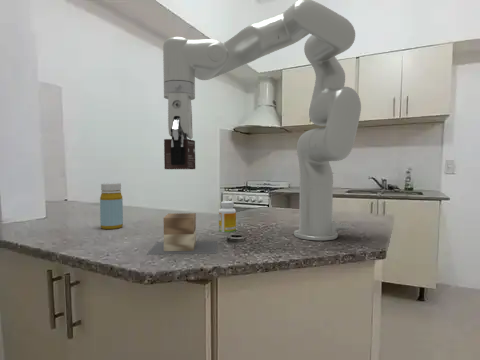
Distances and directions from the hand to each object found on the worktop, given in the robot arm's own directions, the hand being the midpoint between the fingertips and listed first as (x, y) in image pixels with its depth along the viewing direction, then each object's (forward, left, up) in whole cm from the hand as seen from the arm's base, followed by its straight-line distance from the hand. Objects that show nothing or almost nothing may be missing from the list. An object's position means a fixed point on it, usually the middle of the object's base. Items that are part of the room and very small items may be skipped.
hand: (180, 164), depth 79 cm
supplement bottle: (-12, -20, -22) cm, 32 cm away
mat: (-1, 0, -21) cm, 21 cm away
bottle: (+27, -30, -22) cm, 46 cm away
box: (0, 0, -2) cm, 2 cm away
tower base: (0, 0, -21) cm, 21 cm away
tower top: (0, 0, -17) cm, 17 cm away
